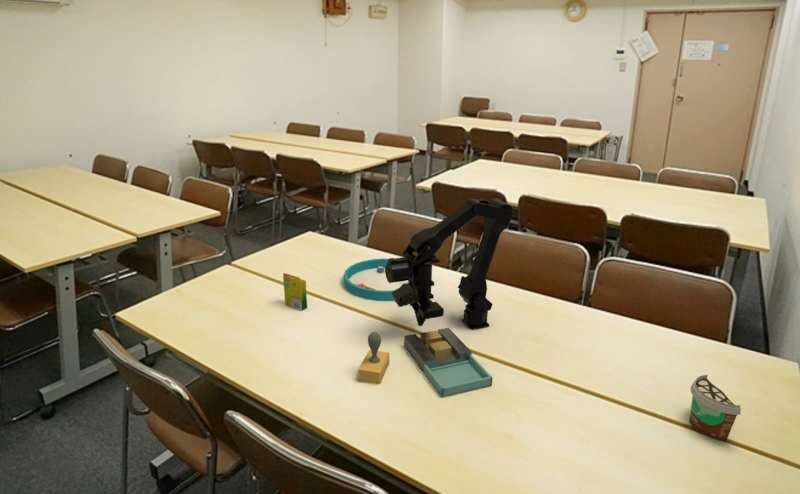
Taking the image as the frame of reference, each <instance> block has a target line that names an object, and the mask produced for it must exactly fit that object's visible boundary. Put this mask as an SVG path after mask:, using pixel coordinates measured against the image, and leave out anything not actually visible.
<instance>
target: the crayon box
mask: <svg viewBox="0 0 800 494" xmlns="http://www.w3.org/2000/svg"><path fill="white" fill-rule="evenodd" d="M282 275H283V276H282V277H283V279H282V280H283V291H284V293H283V295H284V306H286V307H289V308H293V309H296V310H299V311H300V312H302V311H305V310H306V309H307V308H308V299H307V297H308V295H307V294H308V293H307V281H306V280H305V279H301V278H300V277H299V276H295V275H292V274H289V273H285V272H283V274H282Z"/></svg>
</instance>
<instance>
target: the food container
mask: <svg viewBox="0 0 800 494" xmlns="http://www.w3.org/2000/svg"><path fill="white" fill-rule="evenodd" d="M708 376H709V375H708V374H702V375H699V376H698V377H696V378H695V380H694V381H693V382H692V384H691V386H690V393H691V395H692V398H691V405H690V413H689V419H688V420H689V421H688V422H689V423H690V425H691V426H692V428H693V429H694V430H696V431H697V432H698V433H700V434H701V435H703V436H705V437H708V438H710V439H714V440H719V441H727V440H728V438H729V435H730V434H731V433H730V432H731V431H732V428H733V426H734V424H735V421H736V418H737V416H740V415H741V410H742V408H741V405H740V404H734V403H733V402H732V400H730V399H729V397H728V396H727V395H726V394H725V393H724V391H722V390H721V389H720V388H718V387H717V386H716V385H714V384H713V383H712V382H711V380H709V379H708Z"/></svg>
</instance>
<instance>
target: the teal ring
mask: <svg viewBox="0 0 800 494" xmlns="http://www.w3.org/2000/svg"><path fill="white" fill-rule="evenodd" d="M388 259H389V258H373V259H367V260H362V261H359V262H355V263H354V264H352V265H350V266H348V268H346V269H345V270H344V273H343V285H344V289H346V291H347V292H348V293H349V294H352V295H353V296H355V297H357V298H360V299H365V300H369V301H375V302H395V300H394V298H393V295H392V292H393V291H394V290H395V289H394V290H393V289H392V290H378V289H375V288H372V287H371V286H367V285H366V284H365V281H364V282H363V283H353V282H352V281H350V278H352V277H353V276H354V275H356V274H358V273H360V272H363V271H367V270H372V269H377V272H378V273H384V272H385V267H386V264H387V263H388Z"/></svg>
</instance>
